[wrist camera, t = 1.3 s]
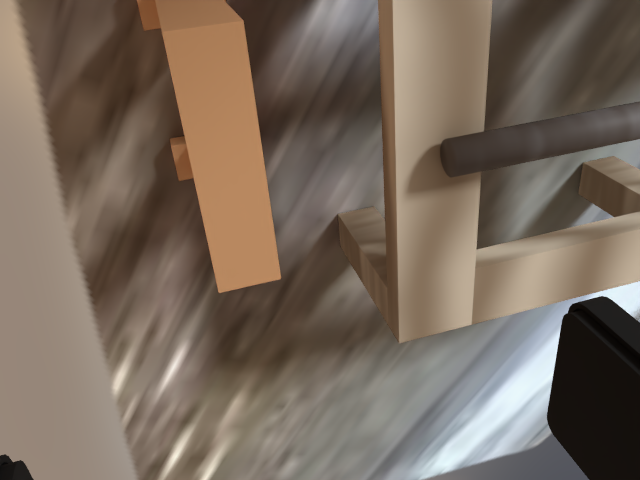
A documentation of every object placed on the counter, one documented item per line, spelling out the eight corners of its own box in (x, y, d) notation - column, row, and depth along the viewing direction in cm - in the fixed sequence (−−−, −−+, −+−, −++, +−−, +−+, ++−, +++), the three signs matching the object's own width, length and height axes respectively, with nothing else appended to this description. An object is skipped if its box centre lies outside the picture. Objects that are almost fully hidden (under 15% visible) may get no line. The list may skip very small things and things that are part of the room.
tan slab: (177, 172, 32) (198, 302, 22) (133, -19, 27) (131, 28, 17) (248, 159, 33) (302, 278, 22) (217, -29, 28) (268, 9, 17)
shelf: (340, 246, 38) (411, 364, 28) (311, -114, 27) (409, -126, 18) (607, 187, 41) (752, 272, 32) (671, -150, 31) (916, -176, 21)
